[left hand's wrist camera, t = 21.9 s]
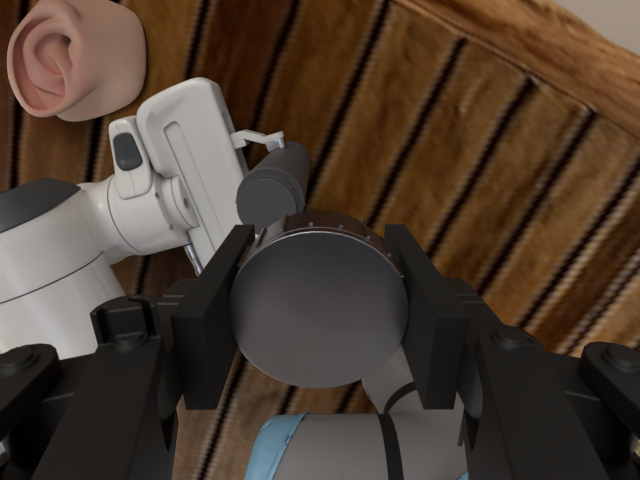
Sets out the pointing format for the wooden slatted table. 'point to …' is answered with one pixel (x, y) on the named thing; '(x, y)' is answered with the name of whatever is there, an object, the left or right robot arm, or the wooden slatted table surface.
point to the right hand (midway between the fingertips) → (294, 168)
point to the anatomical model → (77, 59)
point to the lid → (318, 300)
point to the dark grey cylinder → (274, 187)
